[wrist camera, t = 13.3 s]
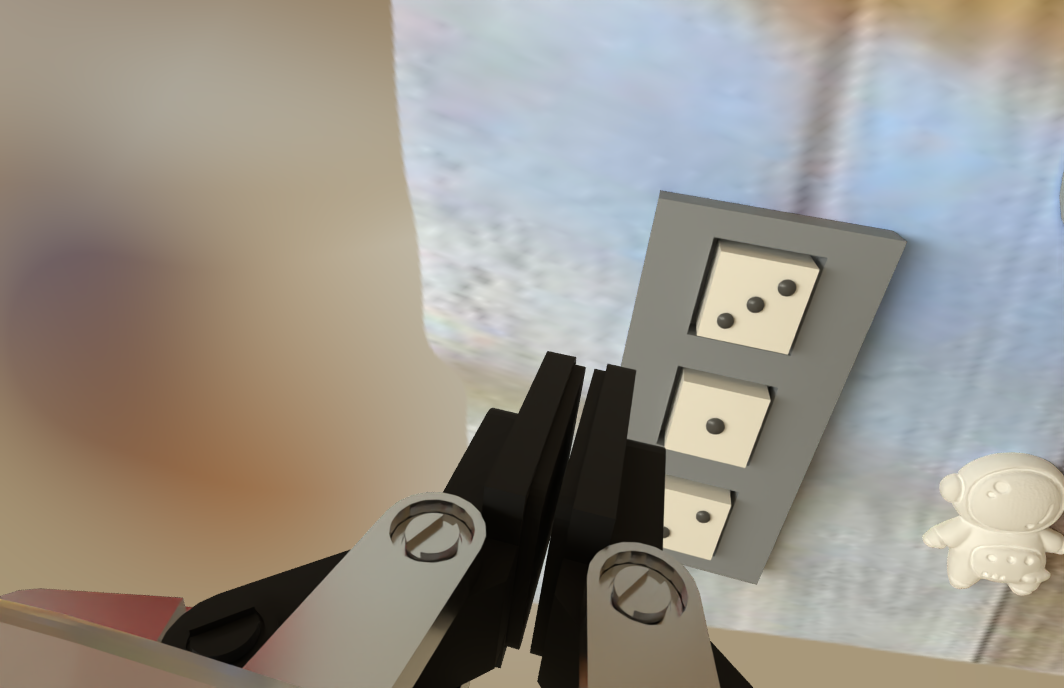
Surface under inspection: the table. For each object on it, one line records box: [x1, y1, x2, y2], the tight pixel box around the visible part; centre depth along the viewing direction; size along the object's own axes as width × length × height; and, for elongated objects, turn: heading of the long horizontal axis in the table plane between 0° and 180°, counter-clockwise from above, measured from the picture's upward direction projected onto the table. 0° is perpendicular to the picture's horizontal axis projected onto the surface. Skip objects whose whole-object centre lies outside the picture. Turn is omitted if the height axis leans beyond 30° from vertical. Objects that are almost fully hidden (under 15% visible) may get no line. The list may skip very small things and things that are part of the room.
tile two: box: [663, 474, 731, 560], centre depth 44 cm, size 6×6×3 cm
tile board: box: [621, 190, 907, 585], centre depth 41 cm, size 14×28×2 cm, turn 172°
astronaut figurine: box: [922, 452, 1064, 596], centre depth 40 cm, size 9×12×3 cm
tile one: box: [664, 367, 771, 468], centre depth 40 cm, size 6×6×3 cm
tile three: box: [696, 238, 820, 354], centre depth 36 cm, size 6×6×3 cm
